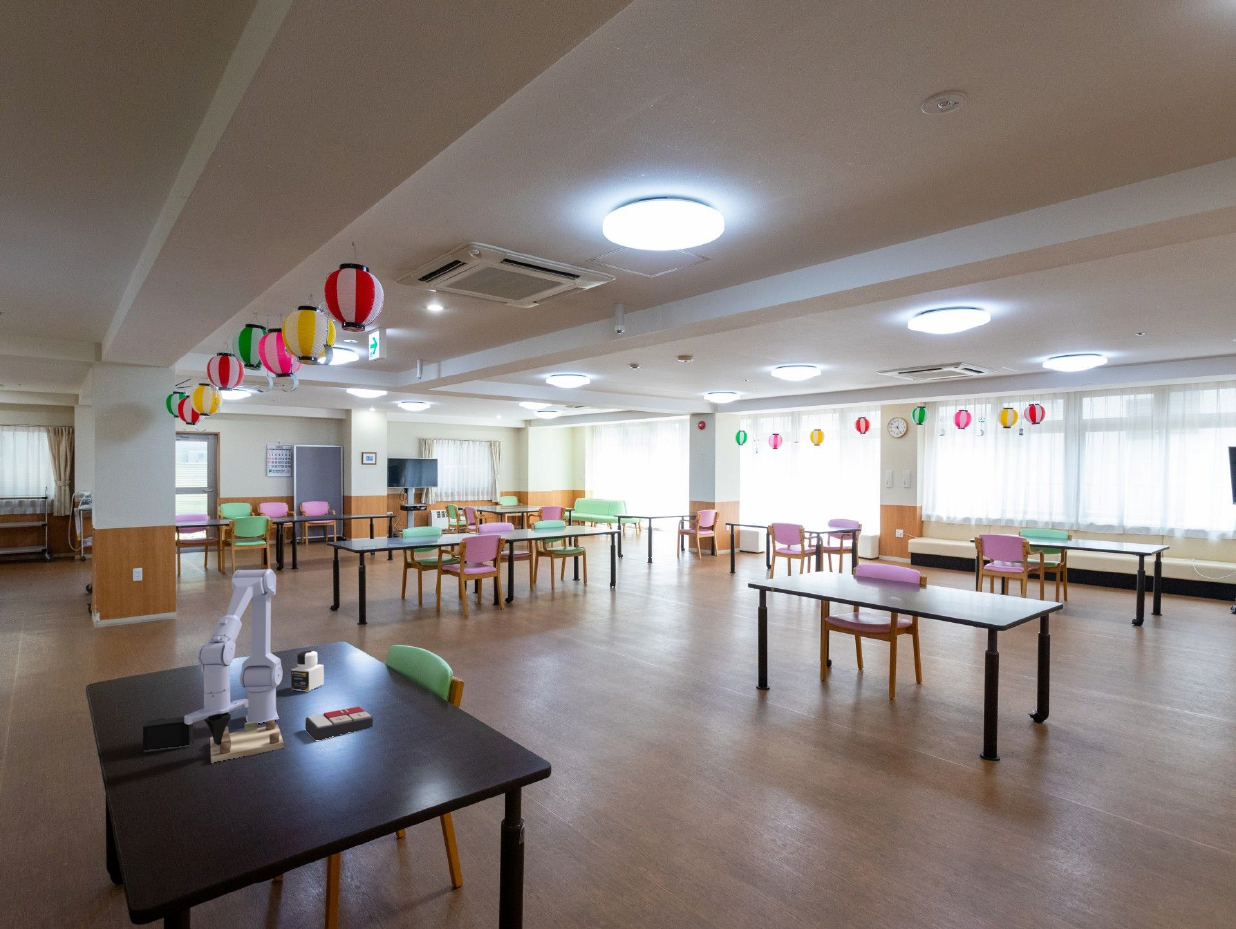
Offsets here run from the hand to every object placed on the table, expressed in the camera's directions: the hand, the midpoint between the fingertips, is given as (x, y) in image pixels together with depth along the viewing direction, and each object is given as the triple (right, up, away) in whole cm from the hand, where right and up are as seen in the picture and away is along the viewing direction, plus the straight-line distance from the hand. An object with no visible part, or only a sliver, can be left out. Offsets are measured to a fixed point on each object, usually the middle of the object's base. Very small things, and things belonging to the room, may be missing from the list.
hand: (217, 743), depth 170 cm
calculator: (+24, -3, +16) cm, 29 cm away
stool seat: (+4, -3, +5) cm, 7 cm away
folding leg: (0, -1, +3) cm, 4 cm away
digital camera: (-16, -3, +6) cm, 17 cm away
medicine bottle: (-1, -3, +51) cm, 51 cm away
